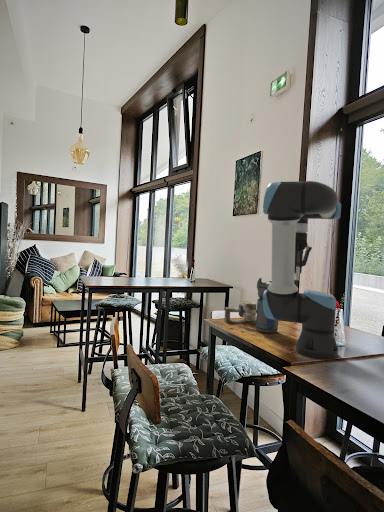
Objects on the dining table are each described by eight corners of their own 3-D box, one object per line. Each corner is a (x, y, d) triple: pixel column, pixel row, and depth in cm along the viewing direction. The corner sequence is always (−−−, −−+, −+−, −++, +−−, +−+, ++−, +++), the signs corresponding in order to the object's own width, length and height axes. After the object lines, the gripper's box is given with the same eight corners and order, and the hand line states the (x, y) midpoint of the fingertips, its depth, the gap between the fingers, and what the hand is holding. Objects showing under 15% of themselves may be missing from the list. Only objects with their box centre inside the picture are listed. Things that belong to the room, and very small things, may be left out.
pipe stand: (264, 321, 184) (265, 308, 184) (268, 324, 177) (269, 311, 177) (224, 319, 183) (224, 306, 183) (226, 322, 176) (226, 309, 176)
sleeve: (251, 317, 185) (252, 301, 184) (255, 321, 176) (256, 304, 176) (242, 317, 184) (243, 301, 184) (245, 320, 176) (246, 303, 176)
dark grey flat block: (240, 314, 183) (241, 304, 183) (242, 317, 177) (243, 306, 177) (238, 314, 183) (239, 304, 183) (240, 316, 177) (241, 306, 177)
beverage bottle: (285, 334, 158) (289, 280, 157) (257, 333, 157) (260, 279, 156) (278, 329, 168) (281, 278, 168) (251, 328, 167) (254, 277, 166)
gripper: (309, 233, 174) (306, 279, 175) (284, 232, 174) (281, 278, 174) (315, 232, 167) (312, 281, 167) (288, 231, 166) (285, 279, 167)
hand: (296, 279), depth 171 cm, fingers closed
